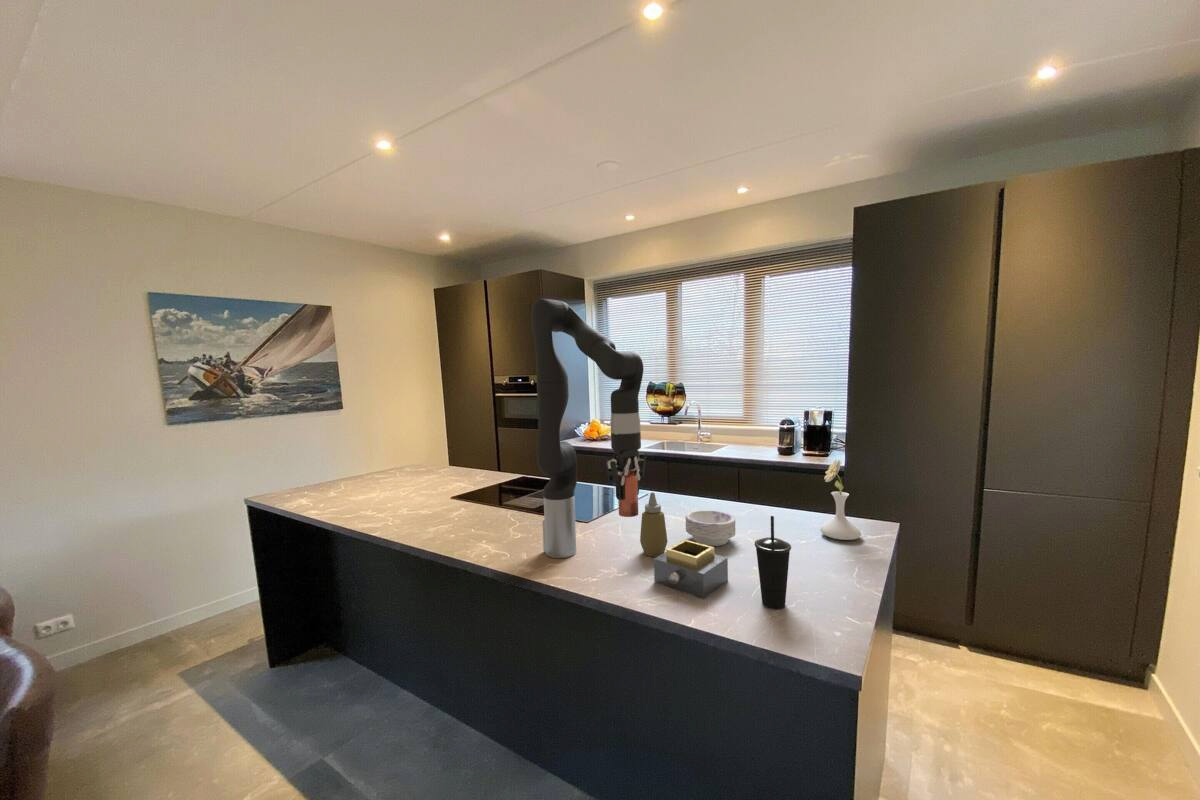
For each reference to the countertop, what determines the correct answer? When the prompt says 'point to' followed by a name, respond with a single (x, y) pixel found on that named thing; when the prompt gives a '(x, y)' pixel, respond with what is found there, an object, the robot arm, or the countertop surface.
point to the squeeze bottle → (653, 529)
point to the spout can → (629, 497)
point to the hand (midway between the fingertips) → (627, 496)
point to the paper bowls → (710, 527)
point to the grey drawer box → (691, 569)
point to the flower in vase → (839, 511)
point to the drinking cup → (773, 569)
